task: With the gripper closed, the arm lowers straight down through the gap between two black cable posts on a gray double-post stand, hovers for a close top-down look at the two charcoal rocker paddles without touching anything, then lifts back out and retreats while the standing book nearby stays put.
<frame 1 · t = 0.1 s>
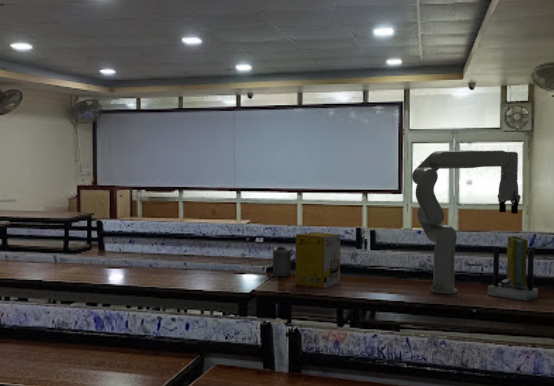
hand: (508, 212, 284), 37 cm above the table, tool pointing down, fingers open, 9 cm apart
gray lidded canister: (281, 276, 320), on the table
gray double-post stand: (512, 296, 270), on the table
book: (515, 289, 286), on the table
packaging box: (317, 284, 297), on the table
paddle a: (519, 283, 268), point 6 cm above the table, hinge at 12.0°
paddle b: (506, 282, 272), point 6 cm above the table, hinge at -12.0°
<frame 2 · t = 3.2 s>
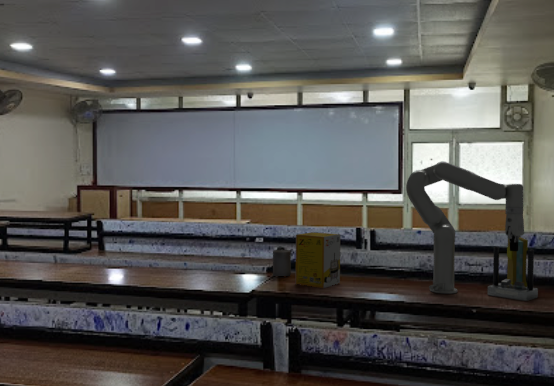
hand: (513, 250, 269), 21 cm above the table, tool pointing down, fingers closed
nothing on the table moved.
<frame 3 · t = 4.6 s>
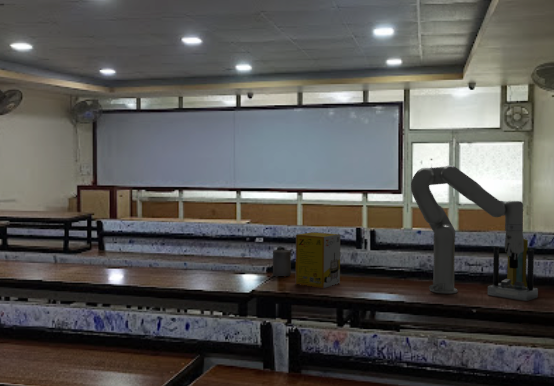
hand: (513, 267, 270), 13 cm above the table, tool pointing down, fingers closed
nothing on the table moved.
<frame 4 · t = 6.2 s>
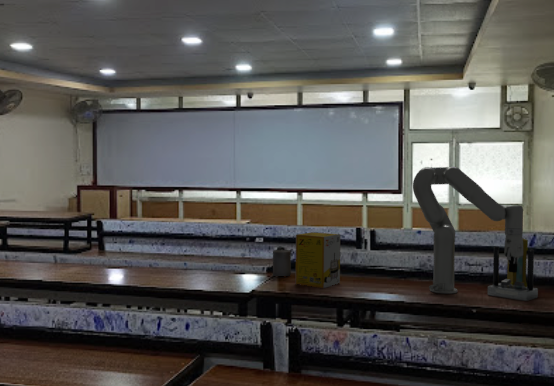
hand: (512, 271, 270), 11 cm above the table, tool pointing down, fingers closed
nothing on the table moved.
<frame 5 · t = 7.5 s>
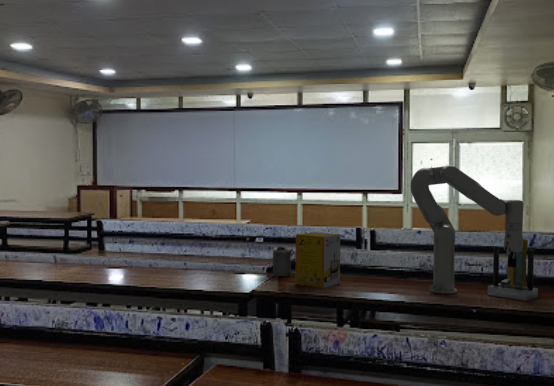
hand: (511, 266, 270), 13 cm above the table, tool pointing down, fingers closed
nothing on the table moved.
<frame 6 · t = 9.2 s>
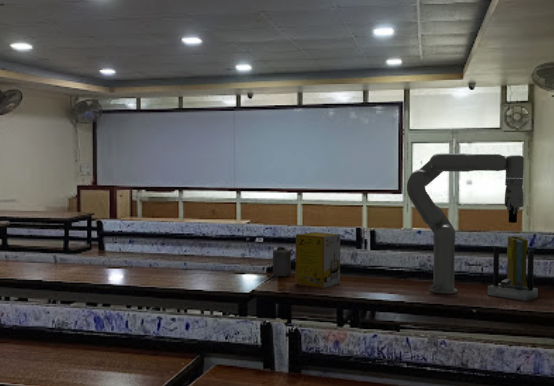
hand: (512, 222, 269), 34 cm above the table, tool pointing down, fingers closed
nothing on the table moved.
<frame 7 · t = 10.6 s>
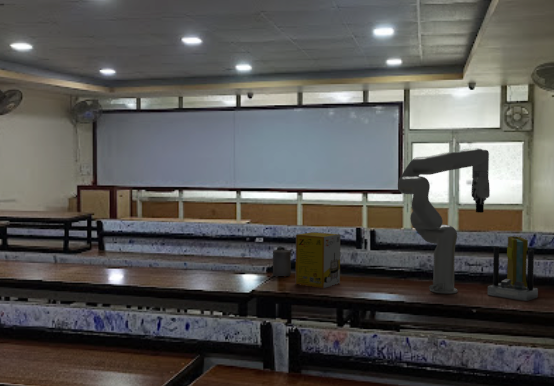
hand: (479, 212, 289), 37 cm above the table, tool pointing down, fingers closed
nothing on the table moved.
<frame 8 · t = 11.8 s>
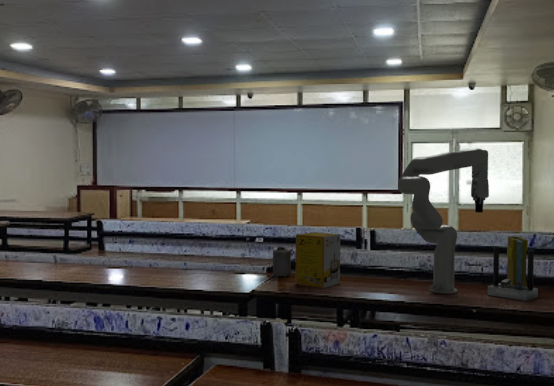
hand: (479, 212, 290), 37 cm above the table, tool pointing down, fingers closed
nothing on the table moved.
at the end: paddle a at +12° (first picture: +12°); paddle b at -12° (first picture: -12°); book moved 0.2 cm from its start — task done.
